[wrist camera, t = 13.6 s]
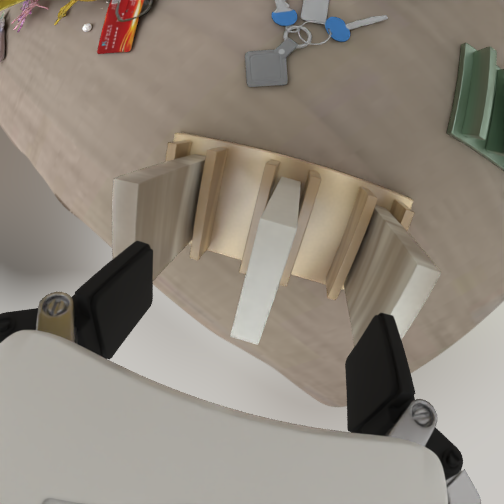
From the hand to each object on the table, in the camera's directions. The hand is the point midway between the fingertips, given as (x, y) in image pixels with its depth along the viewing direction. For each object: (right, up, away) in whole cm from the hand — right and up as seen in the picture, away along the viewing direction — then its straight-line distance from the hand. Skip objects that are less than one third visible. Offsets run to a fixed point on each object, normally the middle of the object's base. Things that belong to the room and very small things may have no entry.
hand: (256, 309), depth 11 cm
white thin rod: (-16, +29, +5) cm, 33 cm away
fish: (-45, +38, +7) cm, 59 cm away
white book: (+2, +5, +12) cm, 13 cm away
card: (-11, +24, +6) cm, 27 cm away
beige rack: (+2, +6, +13) cm, 14 cm away
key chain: (+3, +21, +6) cm, 22 cm away
